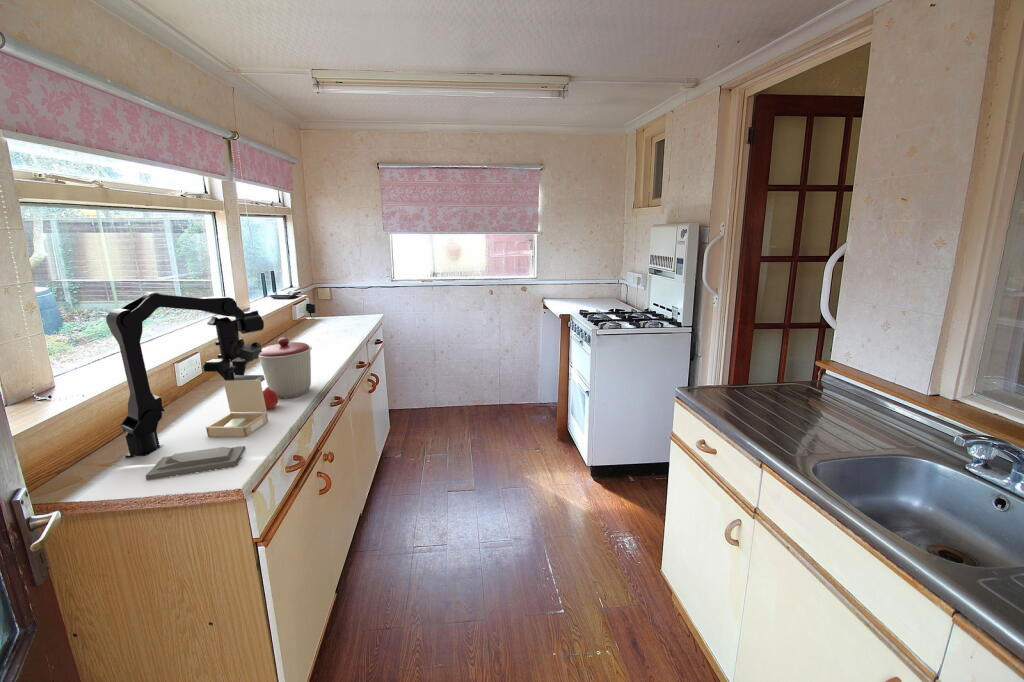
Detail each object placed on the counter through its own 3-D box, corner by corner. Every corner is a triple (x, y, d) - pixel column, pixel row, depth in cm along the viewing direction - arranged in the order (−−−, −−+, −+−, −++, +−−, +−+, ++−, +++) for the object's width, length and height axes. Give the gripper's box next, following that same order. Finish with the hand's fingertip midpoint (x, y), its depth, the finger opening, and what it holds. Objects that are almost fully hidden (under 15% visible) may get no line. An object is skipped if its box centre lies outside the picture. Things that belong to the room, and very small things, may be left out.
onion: (258, 414, 159) (254, 391, 157) (262, 407, 165) (258, 385, 163) (278, 411, 161) (274, 388, 159) (281, 405, 166) (277, 383, 164)
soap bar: (238, 432, 144) (237, 426, 144) (224, 433, 144) (223, 426, 143) (247, 424, 150) (246, 418, 149) (233, 424, 150) (232, 418, 149)
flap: (259, 380, 147) (269, 374, 153) (223, 380, 149) (234, 374, 154) (265, 412, 150) (275, 405, 156) (230, 412, 151) (240, 405, 157)
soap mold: (163, 463, 129) (161, 451, 128) (246, 451, 134) (244, 440, 133) (146, 482, 119) (143, 469, 118) (236, 469, 124) (234, 457, 123)
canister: (252, 400, 172) (242, 343, 167) (286, 384, 189) (278, 331, 184) (296, 403, 167) (287, 344, 162) (327, 386, 184) (320, 332, 179)
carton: (247, 438, 141) (245, 427, 140) (208, 438, 142) (206, 427, 141) (268, 423, 152) (266, 412, 151) (232, 422, 153) (230, 412, 152)
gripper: (233, 344, 140) (241, 395, 144) (270, 330, 158) (277, 376, 162) (197, 344, 141) (206, 395, 145) (238, 330, 159) (246, 375, 163)
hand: (236, 384), depth 154 cm, fingers open, 4 cm apart
